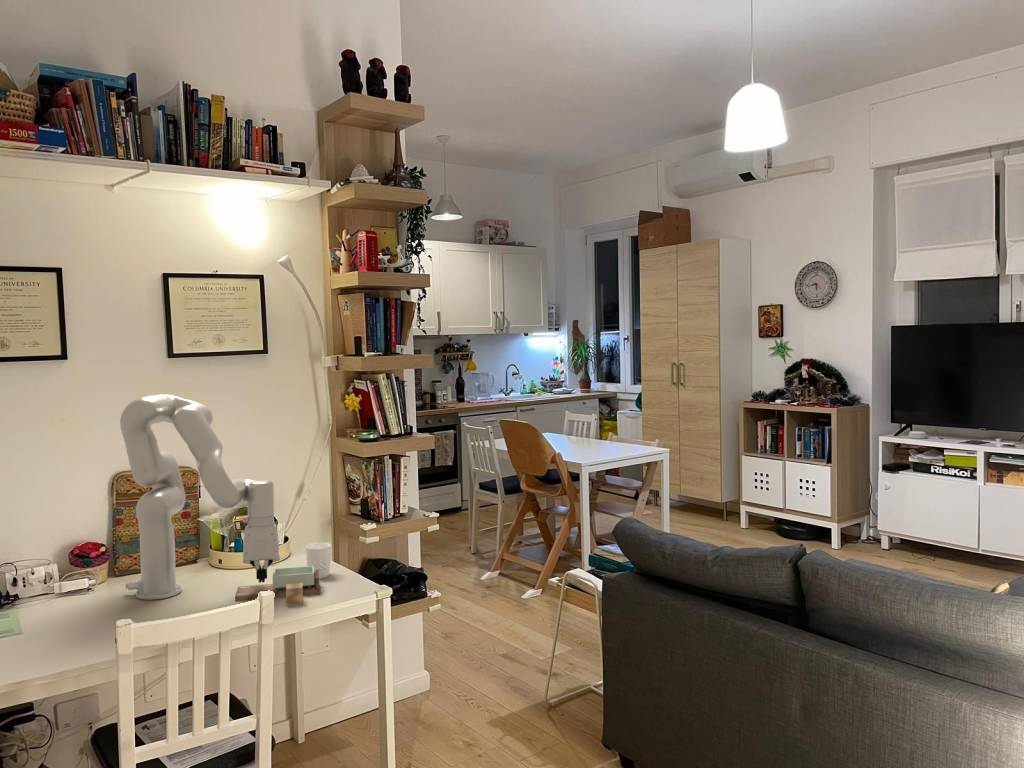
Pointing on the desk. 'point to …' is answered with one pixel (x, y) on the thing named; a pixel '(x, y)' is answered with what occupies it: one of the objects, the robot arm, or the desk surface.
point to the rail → (253, 590)
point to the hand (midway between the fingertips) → (261, 581)
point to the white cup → (319, 558)
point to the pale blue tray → (293, 576)
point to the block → (294, 594)
